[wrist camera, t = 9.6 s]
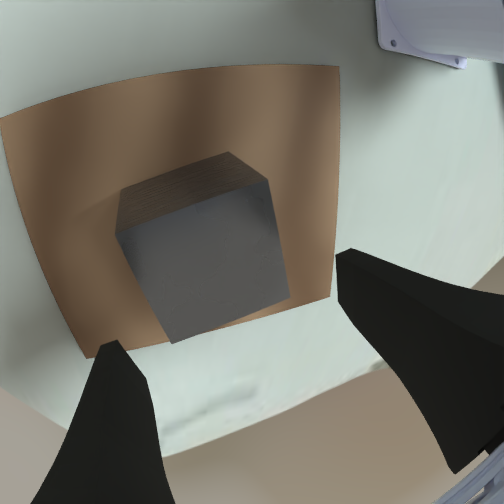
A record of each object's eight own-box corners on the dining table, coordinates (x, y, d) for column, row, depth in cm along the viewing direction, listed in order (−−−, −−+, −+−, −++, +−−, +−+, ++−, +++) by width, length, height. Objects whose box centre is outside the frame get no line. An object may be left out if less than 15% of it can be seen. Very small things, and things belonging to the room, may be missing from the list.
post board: (328, 66, 15) (382, 67, 11) (322, 288, 23) (356, 327, 19) (6, 116, 11) (-36, 129, 7) (87, 348, 18) (85, 401, 15)
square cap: (228, 151, 15) (268, 179, 11) (252, 244, 18) (290, 297, 14) (120, 189, 14) (114, 234, 10) (159, 279, 17) (171, 344, 13)
